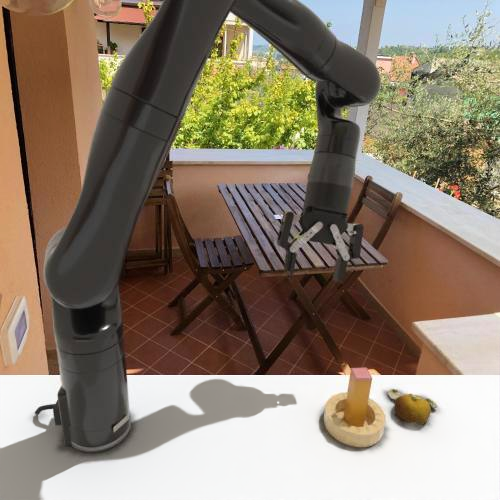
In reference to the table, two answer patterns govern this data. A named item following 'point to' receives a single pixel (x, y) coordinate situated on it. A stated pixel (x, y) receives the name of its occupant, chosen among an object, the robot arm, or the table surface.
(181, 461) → the table surface
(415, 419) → the fruit
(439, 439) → the table surface
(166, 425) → the table surface
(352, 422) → the pencil
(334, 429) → the bowl
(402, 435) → the table surface
